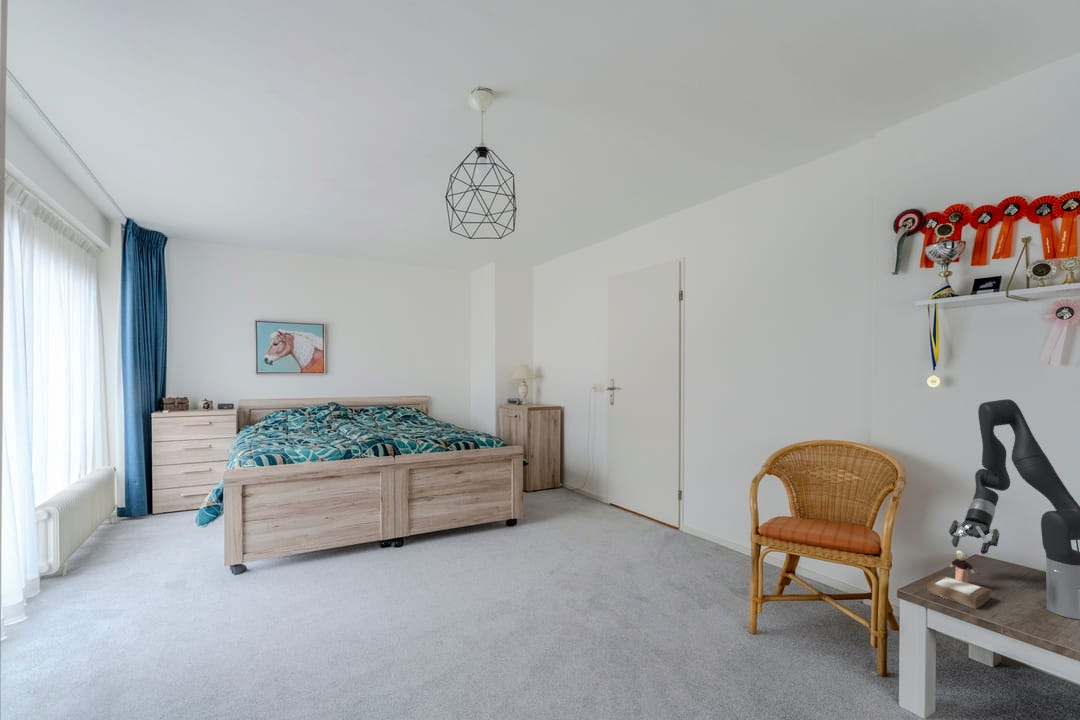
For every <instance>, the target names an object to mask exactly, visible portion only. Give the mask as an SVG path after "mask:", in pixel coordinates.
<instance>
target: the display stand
mask: <svg viewBox="0 0 1080 720" xmlns="http://www.w3.org/2000/svg"><path fill="white" fill-rule="evenodd" d="M927 592H929V593H932V594H935V595H938V596H940V597H939V598H941V597H943V598H942V599H944V598H946V599H945V600H947V599H949V600H948V601H950V600H952V601H951V602H953V601H955V602H954V603H956V602H958V603H957V604H959V603H960V605H962V604H963V605H962V606H965V605H966V607H968V606H969V608H972V609H974V610H976V609H978V608H980V607H981V606H982V605H984V604H985V602H986V603H987V602H988V600H989V601H990V600H991V589H990V588H986V587H984V586H980V585H977V584H973V583H969V582H968V583H967V582H963V581H960V580H956V579H955V578H953V577H950V576H945V575H940V576H937V577H936V578H934V579H932V580H930V581H929V582H927V583H926V593H927ZM935 595H934V596H935ZM938 596H937V597H938Z"/></svg>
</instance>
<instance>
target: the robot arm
mask: <svg viewBox="0 0 1080 720" xmlns="http://www.w3.org/2000/svg"><path fill="white" fill-rule="evenodd" d="M977 412H978V413H977V414H978V421H979V424H978V425H979V430H980V435H981V436H980V437H981V442H982V454H981V465H982V467H984V468H980V469H978V470H977V471H975V474H974V475H975V477H974V478H975V479H974V480H975V492H974V495H973V498H972V500H971V502H970V504H969V506H968V510H967V511H966V515H965V518H964V521H963V522H958V520H956V519H955V520H953V521H952V523H951V525H950V528H949V530H948V533H949V535H950V536H951V537H952V540H951V544H952V546H953V547H955V548H957V547H958V545H959V542H960V539H961V538H965V537H967V536H968V537H972V538H973V537H974V538H976V539H980V538H981V539H982V540H983V543H982V545H981V547H980V553H981V554H982V555H986V554H987V553H988V552H989V550H990V549H989V548H990V547H997V546H998V544H999V543H998V542H999V538H1000V534H1001V533H1000V531H999V529H997V528H994V529H991V525H992V523H993V520H994V518H995V514H996V508H997V504H998V501H999V494H998V493H997V492H996V491H1002V492H1004V491H1007V490H1008V489H1009V488H1010V486H1011V478H1010V475H1009V473H1008V470H1007V449H1006V447H1005V446H1004V444H1003V443H1002V441H1000V439H999V438H998V436H996V434H995V431H994V430H995V427H998V426H1005V425H1009V426H1010V428H1011V429H1012V431H1013V433H1014V443H1013V446H1012V452H1011V462H1012V463H1013V466H1014V467H1015V469H1016V470H1017V472H1018V474H1019V476H1020V477H1021V479H1023V481H1024V482H1025V483H1027V484H1028V485H1029V486H1030V487H1032V488H1033V489H1035V490H1036V491H1037V492H1038V493H1040V494H1042V496H1044V497H1045V498H1046V499H1047V500H1048V501H1049V502H1050V504H1051V505H1052V506H1053V508H1054V510H1048V511H1045V512H1044V514H1042V517H1041V520H1040V527H1041V528H1040V529H1041V530H1040V531H1041V540H1042V541H1041V542H1042V547H1043V549H1044V551H1045V568H1046V569H1045V570H1046V571H1045V574H1046V579H1045V580H1046V609H1047V610H1048V611H1049V612H1051V613H1053V614H1056V615H1058V616H1061V617H1063V618H1064V617H1065V618H1069V619H1075V620H1080V551H1078V550H1076V549H1073V546H1072V541H1080V504H1078V502H1077V501H1076V500H1075V498H1074V497H1073V496H1072V494H1071V493H1070V491H1068V489H1067V487H1066V486H1065V484H1064V482H1063V480H1061V478H1060V477H1059V474H1058V473H1057V471H1056V470H1055V468H1054V466H1053V464H1052V463H1051V461H1050V460H1049V458H1048V456H1047V455H1046V453H1045V452H1044V451H1043V449H1042V448H1041V446H1040V445H1039V442H1038V441H1037V439H1036V438H1035V436H1034V434H1033V433H1032V431H1031V429H1030V426H1029V425H1028V423H1027V420H1026V418H1025V416H1024V414H1023V412H1022V410H1021V409H1020V406H1019V405H1018V404H1017V403H1016V402H1015V401H1014V400H1012V399H1009V398H1006V399H999V400H993V401H985V402H982V403H980V405H978V411H977ZM994 490H996V491H994ZM958 529H959V530H958ZM989 534H990V535H991V540H989V539H988V538H987V535H989Z"/></svg>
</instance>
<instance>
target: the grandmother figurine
mask: <svg viewBox="0 0 1080 720" xmlns="http://www.w3.org/2000/svg"><path fill="white" fill-rule="evenodd" d="M968 558H969V556H968V554H967V552H965V551H963V550H956V558H955V559H954V560H952V561H951V562H950V565H949V567H950V568H951V569H953V568H954V567H955V566H956V567H955V577H954V579H956V580H960V581H963V582H967V583H969V582H968V581H969V574H968V573H969V572H968V570H970V573H971V574H973V575H975V574H976V572H975V570H974V567H973V566H972V565H971V563H969V562H967V561H966V559H968Z"/></svg>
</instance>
